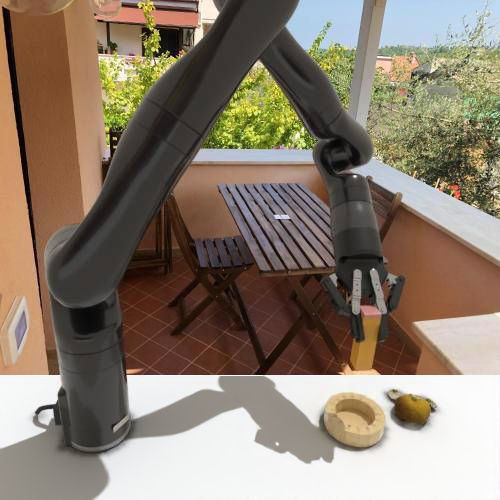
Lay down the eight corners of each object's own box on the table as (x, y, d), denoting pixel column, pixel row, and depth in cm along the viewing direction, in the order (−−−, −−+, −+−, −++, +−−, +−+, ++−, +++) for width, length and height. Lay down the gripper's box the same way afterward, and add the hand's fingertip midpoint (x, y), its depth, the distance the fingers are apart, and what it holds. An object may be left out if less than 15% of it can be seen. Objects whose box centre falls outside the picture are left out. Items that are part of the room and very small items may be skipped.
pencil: (355, 370, 66) (364, 314, 62) (349, 360, 68) (358, 305, 64) (371, 370, 66) (381, 314, 62) (365, 360, 68) (375, 305, 64)
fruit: (435, 402, 77) (439, 385, 76) (437, 434, 70) (441, 417, 68) (387, 389, 80) (391, 373, 78) (384, 420, 72) (387, 402, 71)
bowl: (333, 448, 66) (334, 435, 65) (317, 405, 75) (319, 393, 74) (392, 445, 67) (395, 433, 66) (370, 403, 76) (372, 391, 75)
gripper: (318, 224, 65) (331, 337, 59) (405, 225, 67) (428, 335, 60) (307, 244, 72) (318, 347, 65) (387, 244, 74) (405, 345, 67)
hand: (371, 341), depth 63 cm, fingers closed on pencil, 2 cm apart
